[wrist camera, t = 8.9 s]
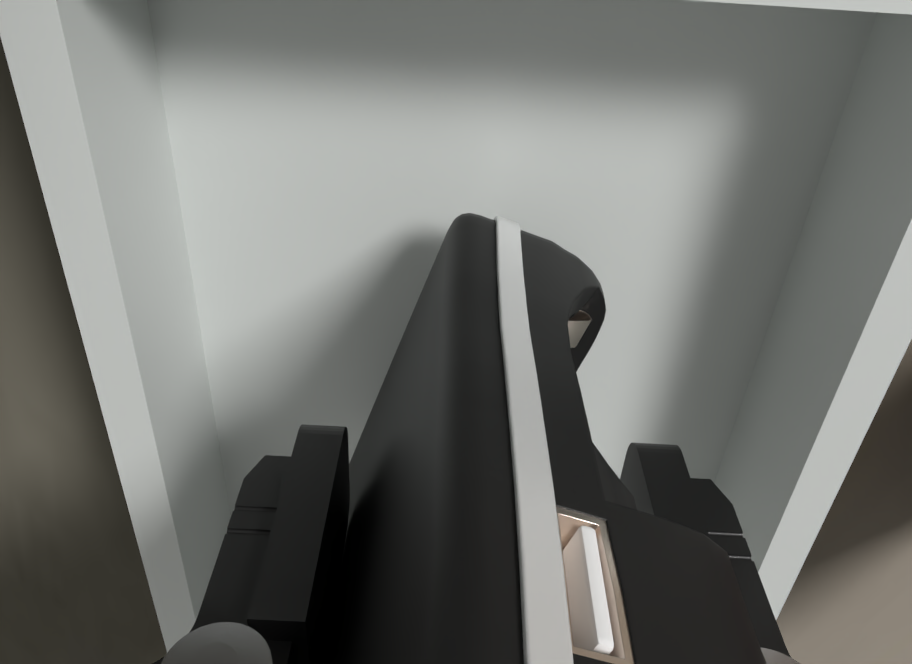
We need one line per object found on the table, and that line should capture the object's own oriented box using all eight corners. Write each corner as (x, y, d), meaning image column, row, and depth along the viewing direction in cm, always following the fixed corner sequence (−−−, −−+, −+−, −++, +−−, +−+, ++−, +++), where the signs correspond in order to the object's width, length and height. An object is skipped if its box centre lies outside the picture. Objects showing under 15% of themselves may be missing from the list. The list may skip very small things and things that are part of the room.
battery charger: (507, 512, 17) (545, 1372, 8) (343, 466, 16) (169, 1349, 7) (665, 258, 13) (1106, 1320, 4) (462, 184, 13) (423, 1264, 3)
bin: (86, -143, 11) (-44, -124, 9) (943, -86, 12) (1098, -49, 9) (216, 557, 21) (174, 681, 18) (698, 581, 21) (734, 706, 18)
